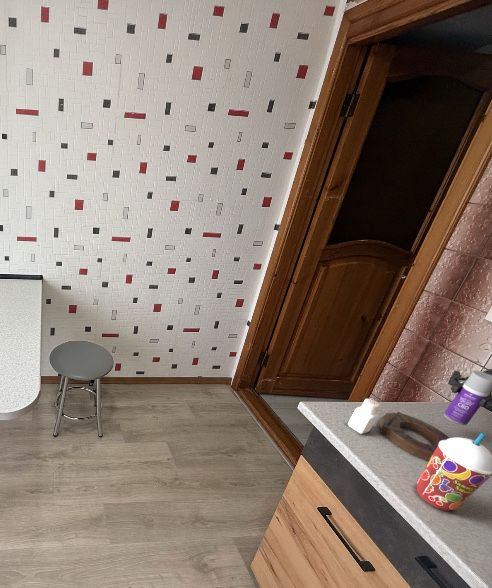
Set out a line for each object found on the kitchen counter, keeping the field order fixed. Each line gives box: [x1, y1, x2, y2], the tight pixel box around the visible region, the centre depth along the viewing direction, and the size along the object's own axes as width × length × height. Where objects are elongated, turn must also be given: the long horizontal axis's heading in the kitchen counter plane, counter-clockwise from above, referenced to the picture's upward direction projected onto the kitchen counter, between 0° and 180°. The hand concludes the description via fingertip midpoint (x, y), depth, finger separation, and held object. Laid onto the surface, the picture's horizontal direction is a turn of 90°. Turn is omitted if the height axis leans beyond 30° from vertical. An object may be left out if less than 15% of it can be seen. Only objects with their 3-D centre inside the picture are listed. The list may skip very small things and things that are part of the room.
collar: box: [378, 411, 450, 462], centre depth 91 cm, size 15×15×2 cm
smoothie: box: [416, 432, 492, 512], centre depth 71 cm, size 8×8×20 cm
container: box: [443, 370, 492, 426], centre depth 90 cm, size 5×5×15 cm
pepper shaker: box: [347, 398, 381, 435], centre depth 92 cm, size 4×4×10 cm
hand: (468, 396), depth 88 cm, fingers closed on container, 4 cm apart
